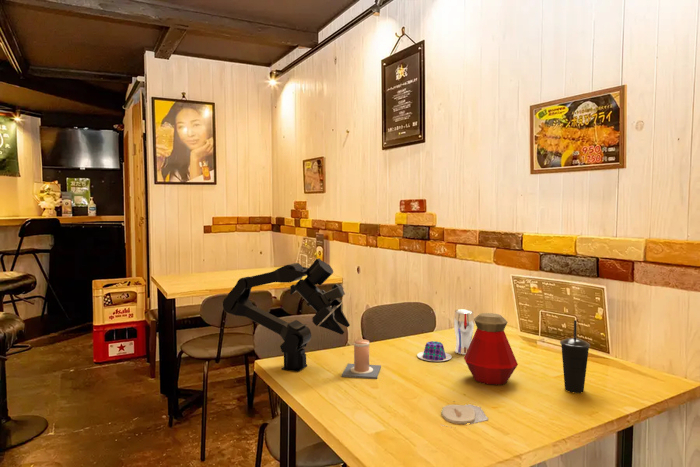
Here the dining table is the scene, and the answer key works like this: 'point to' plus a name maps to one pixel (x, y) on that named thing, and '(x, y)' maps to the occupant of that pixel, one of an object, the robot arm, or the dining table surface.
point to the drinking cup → (574, 362)
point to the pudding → (434, 352)
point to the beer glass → (463, 330)
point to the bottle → (490, 351)
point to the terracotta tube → (361, 355)
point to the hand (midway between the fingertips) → (346, 329)
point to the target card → (371, 373)
